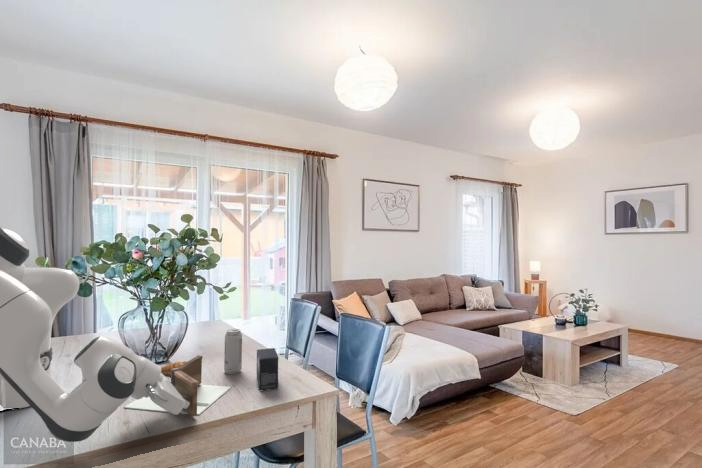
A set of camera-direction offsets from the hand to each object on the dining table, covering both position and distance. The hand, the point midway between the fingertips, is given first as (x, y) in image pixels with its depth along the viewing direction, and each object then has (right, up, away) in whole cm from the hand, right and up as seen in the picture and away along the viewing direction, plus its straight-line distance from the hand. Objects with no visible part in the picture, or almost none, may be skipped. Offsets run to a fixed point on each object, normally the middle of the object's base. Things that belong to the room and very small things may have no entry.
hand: (186, 403), depth 101 cm
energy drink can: (+2, -4, +35) cm, 35 cm away
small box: (+16, -5, +24) cm, 30 cm away
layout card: (-7, -4, +13) cm, 15 cm away
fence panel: (-2, -3, +4) cm, 5 cm away
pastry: (-18, -4, +33) cm, 38 cm away
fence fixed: (-7, -4, +15) cm, 17 cm away
